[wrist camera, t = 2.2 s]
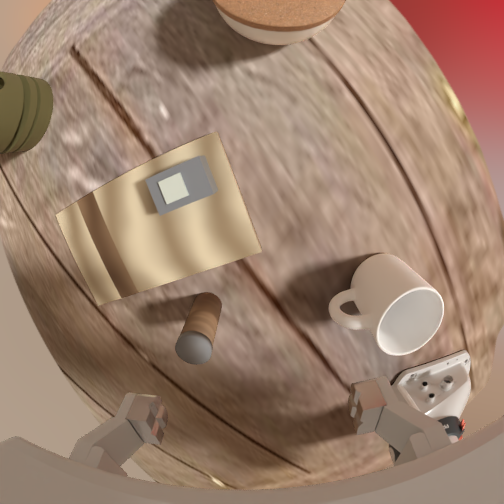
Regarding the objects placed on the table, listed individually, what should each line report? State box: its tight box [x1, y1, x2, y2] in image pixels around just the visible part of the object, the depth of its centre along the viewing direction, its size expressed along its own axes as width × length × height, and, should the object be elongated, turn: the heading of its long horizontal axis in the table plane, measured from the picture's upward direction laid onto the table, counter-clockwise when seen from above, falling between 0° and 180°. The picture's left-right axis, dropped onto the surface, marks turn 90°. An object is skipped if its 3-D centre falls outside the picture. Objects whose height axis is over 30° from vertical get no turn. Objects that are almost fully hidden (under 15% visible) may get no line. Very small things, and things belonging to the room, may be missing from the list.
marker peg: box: [175, 292, 222, 364], centre depth 31 cm, size 4×4×10 cm
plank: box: [56, 132, 262, 305], centre depth 32 cm, size 24×14×2 cm, turn 110°
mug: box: [329, 253, 444, 356], centre depth 29 cm, size 12×8×10 cm
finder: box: [145, 156, 218, 216], centre depth 27 cm, size 6×4×3 cm, turn 110°
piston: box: [0, 72, 53, 154], centre depth 21 cm, size 11×12×11 cm
